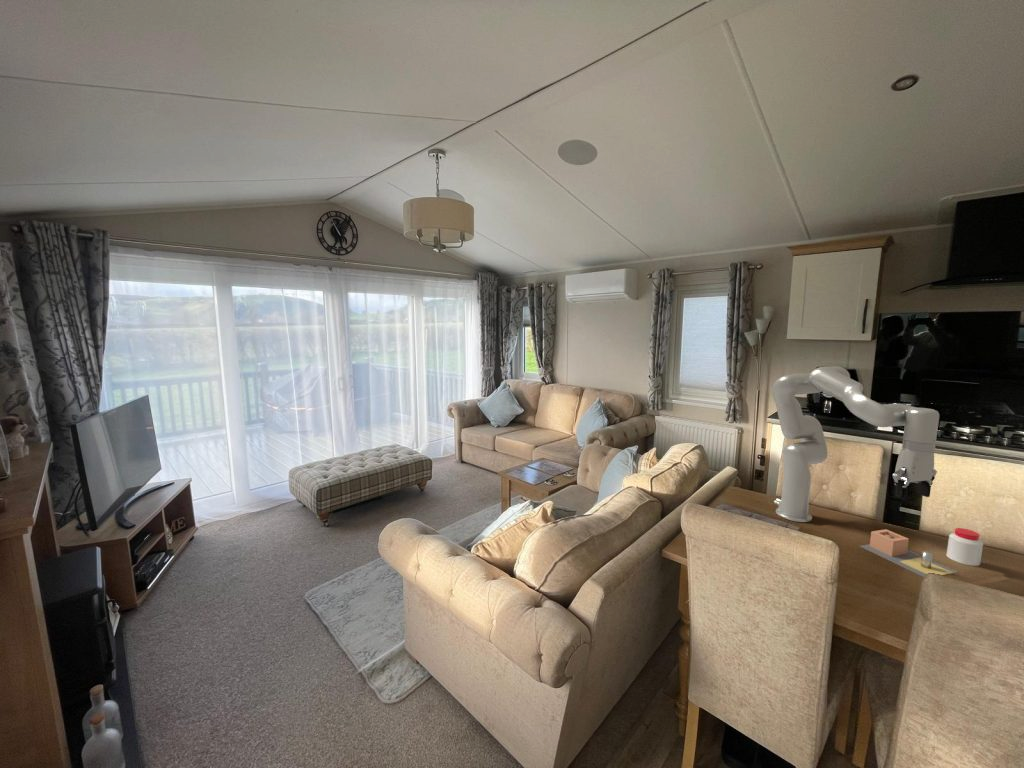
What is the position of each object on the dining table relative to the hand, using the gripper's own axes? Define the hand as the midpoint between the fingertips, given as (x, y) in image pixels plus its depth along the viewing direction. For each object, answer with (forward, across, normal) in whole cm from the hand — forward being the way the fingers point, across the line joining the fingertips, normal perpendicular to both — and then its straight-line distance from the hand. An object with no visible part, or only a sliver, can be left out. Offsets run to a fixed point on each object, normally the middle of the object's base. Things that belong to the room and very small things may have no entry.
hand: (911, 496), depth 135 cm
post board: (+24, -3, -1) cm, 24 cm away
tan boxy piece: (+22, -3, -7) cm, 23 cm away
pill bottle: (+24, -21, +4) cm, 32 cm away
